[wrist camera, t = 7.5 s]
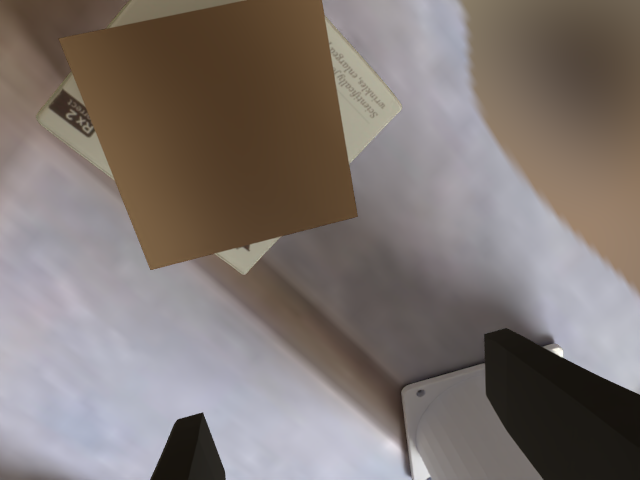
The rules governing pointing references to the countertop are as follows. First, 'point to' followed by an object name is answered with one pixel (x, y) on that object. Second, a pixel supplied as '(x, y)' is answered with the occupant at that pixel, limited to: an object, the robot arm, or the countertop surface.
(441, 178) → the countertop surface
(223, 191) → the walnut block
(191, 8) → the small box
